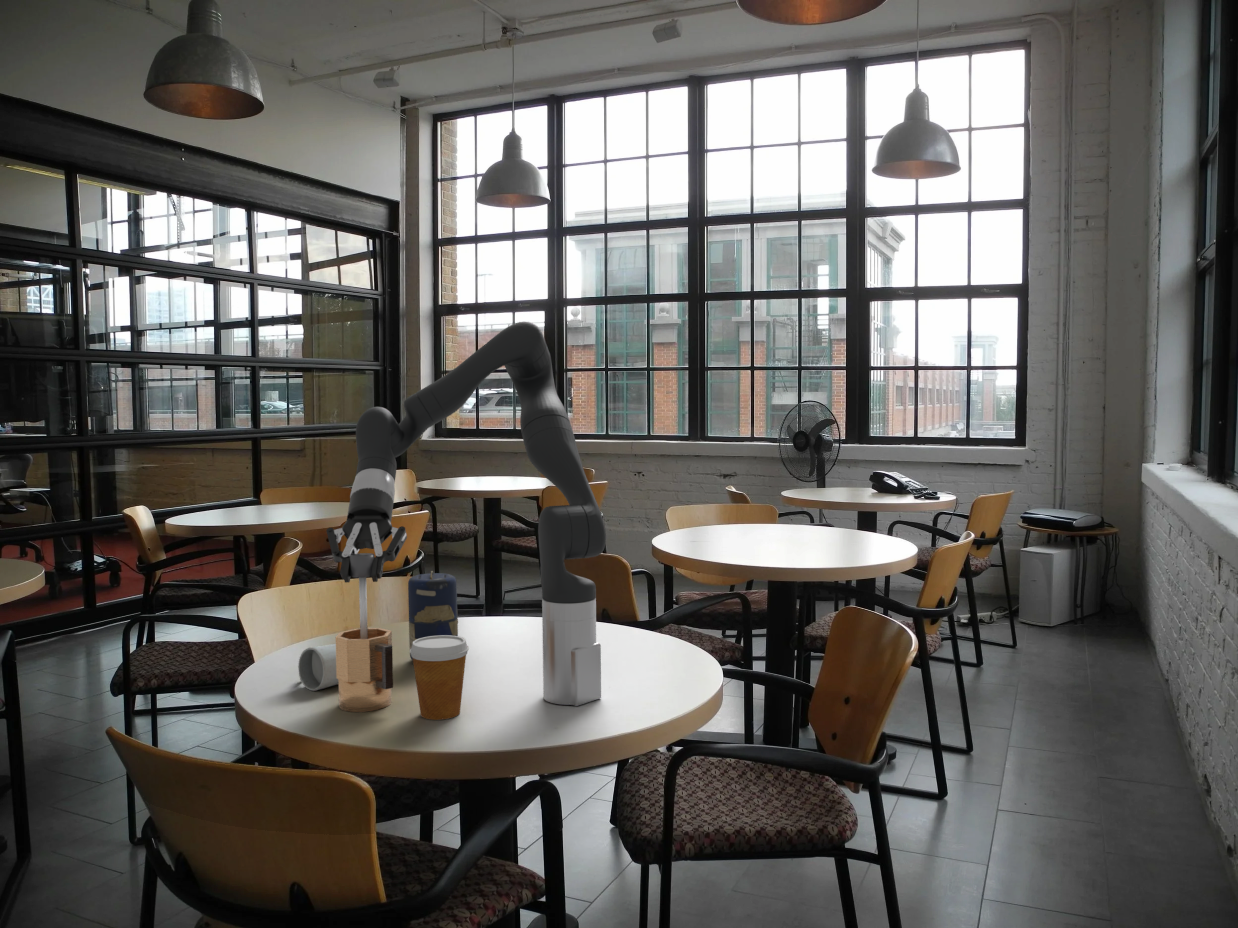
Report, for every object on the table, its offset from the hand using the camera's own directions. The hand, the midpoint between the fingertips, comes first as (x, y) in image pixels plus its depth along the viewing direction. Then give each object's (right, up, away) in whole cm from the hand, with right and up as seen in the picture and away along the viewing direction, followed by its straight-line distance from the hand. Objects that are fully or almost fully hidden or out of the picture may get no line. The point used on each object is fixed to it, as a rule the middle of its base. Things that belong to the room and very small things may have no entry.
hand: (360, 579), depth 156 cm
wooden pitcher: (+1, -22, +2) cm, 22 cm away
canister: (+6, -20, +31) cm, 38 cm away
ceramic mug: (-11, -21, +15) cm, 28 cm away
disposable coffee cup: (+14, -22, -2) cm, 26 cm away
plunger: (0, -11, +2) cm, 11 cm away
